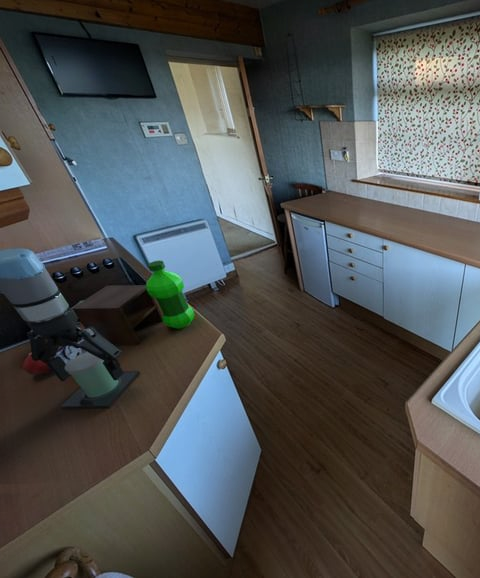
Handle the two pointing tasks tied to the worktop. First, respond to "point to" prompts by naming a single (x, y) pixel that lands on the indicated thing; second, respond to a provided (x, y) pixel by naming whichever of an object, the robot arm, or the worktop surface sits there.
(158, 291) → the plastic bottle
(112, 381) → the jar
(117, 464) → the worktop surface
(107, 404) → the hob
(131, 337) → the shelf rack
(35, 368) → the red rounded lump
